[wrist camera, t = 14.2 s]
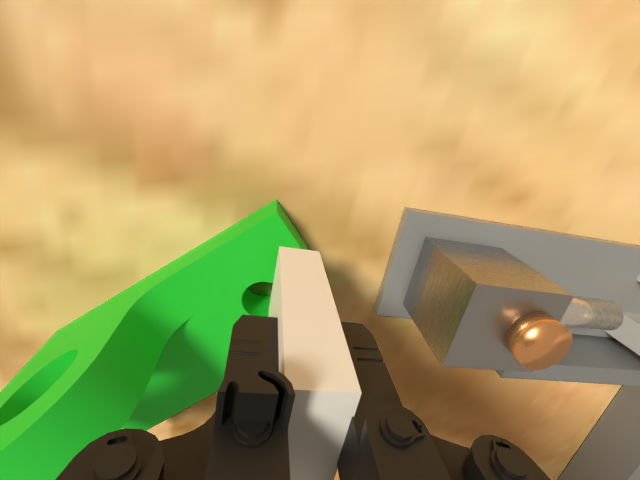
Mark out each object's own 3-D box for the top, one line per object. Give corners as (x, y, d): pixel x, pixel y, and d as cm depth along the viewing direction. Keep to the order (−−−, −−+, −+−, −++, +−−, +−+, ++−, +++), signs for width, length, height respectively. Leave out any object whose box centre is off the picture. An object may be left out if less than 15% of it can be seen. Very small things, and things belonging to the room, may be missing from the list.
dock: (303, 539, 25) (311, 637, 20) (404, 207, 15) (459, 252, 11) (534, 530, 29) (583, 610, 24) (726, 260, 19) (863, 309, 15)
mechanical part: (147, 403, 18) (63, 609, 11) (59, 328, 16) (-126, 528, 8) (340, 295, 17) (391, 443, 10) (276, 198, 15) (279, 297, 7)
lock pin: (402, 303, 16) (452, 382, 12) (425, 236, 15) (491, 296, 11) (555, 319, 18) (650, 394, 14) (587, 260, 17) (704, 321, 12)
